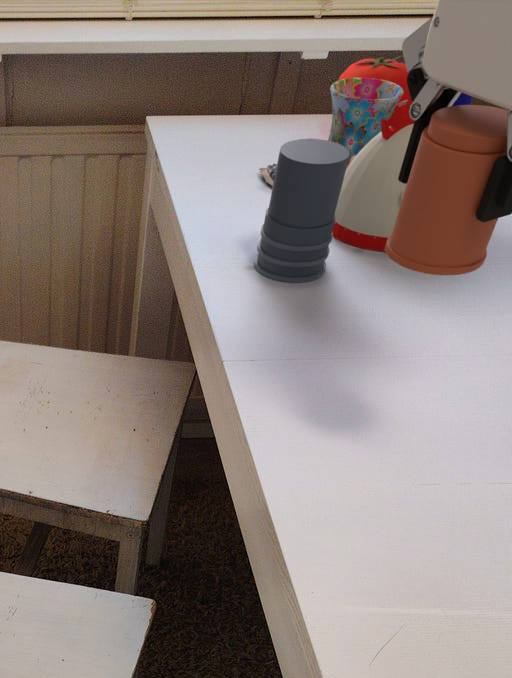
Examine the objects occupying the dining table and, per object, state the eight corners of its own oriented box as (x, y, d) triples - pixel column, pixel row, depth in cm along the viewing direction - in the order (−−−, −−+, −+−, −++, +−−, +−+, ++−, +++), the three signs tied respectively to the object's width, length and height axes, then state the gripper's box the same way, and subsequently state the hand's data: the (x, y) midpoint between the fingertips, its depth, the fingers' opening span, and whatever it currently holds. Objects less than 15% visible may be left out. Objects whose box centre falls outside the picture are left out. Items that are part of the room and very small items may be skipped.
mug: (315, 187, 114) (335, 99, 106) (308, 161, 120) (327, 76, 112) (404, 189, 113) (431, 101, 105) (393, 163, 119) (418, 78, 111)
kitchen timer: (459, 242, 102) (511, 104, 91) (362, 258, 100) (402, 119, 88) (396, 198, 111) (435, 68, 99) (304, 213, 108) (334, 81, 97)
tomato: (416, 134, 126) (440, 54, 118) (385, 157, 120) (409, 75, 112) (342, 118, 131) (361, 41, 123) (310, 140, 125) (328, 60, 117)
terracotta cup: (469, 231, 65) (517, 101, 58) (497, 275, 60) (553, 139, 53) (376, 232, 65) (413, 102, 58) (396, 275, 60) (439, 140, 54)
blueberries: (284, 166, 119) (287, 151, 117) (323, 185, 114) (326, 170, 113) (248, 176, 117) (250, 161, 115) (286, 195, 112) (289, 180, 111)
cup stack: (318, 250, 101) (346, 137, 92) (330, 283, 96) (361, 166, 86) (250, 249, 102) (270, 136, 92) (257, 282, 96) (280, 165, 87)
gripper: (763, -127, 42) (591, 231, 55) (497, -162, 52) (407, 148, 66) (662, -110, 40) (509, 257, 53) (406, -150, 50) (333, 167, 64)
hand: (454, 195), depth 59 cm, fingers closed on terracotta cup, 6 cm apart
